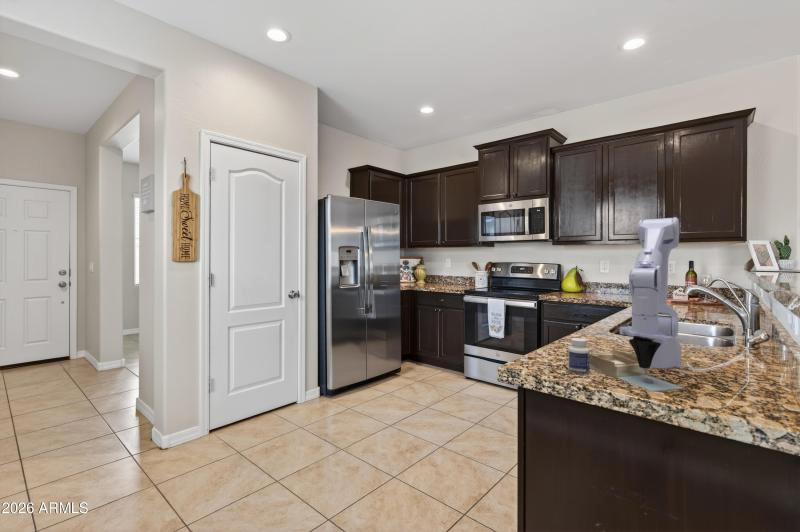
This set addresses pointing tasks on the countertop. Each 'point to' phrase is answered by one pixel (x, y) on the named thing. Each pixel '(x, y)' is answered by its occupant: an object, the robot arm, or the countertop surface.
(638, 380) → the lid
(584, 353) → the pill bottle
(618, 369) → the box
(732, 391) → the countertop surface
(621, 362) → the soap bar
